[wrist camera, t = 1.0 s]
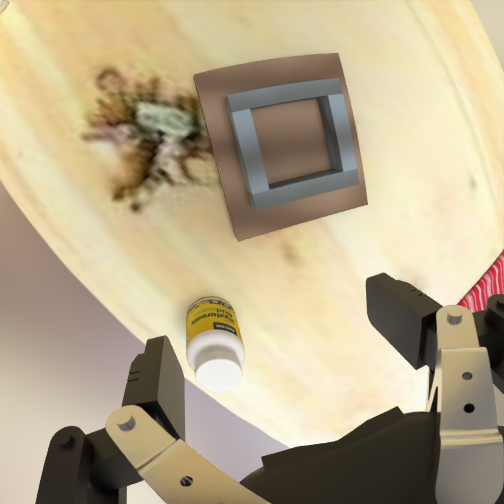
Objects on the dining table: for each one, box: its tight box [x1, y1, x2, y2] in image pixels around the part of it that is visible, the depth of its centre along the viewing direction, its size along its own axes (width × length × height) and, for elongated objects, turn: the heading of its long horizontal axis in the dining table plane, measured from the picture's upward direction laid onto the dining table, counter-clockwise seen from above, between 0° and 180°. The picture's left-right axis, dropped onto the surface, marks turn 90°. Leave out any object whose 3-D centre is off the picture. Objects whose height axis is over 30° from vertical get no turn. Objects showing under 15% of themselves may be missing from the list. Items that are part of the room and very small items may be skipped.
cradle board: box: [194, 53, 368, 241], centre depth 26 cm, size 16×14×4 cm
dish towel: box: [457, 251, 504, 313], centre depth 43 cm, size 17×24×3 cm
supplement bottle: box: [186, 297, 245, 392], centre depth 29 cm, size 5×5×10 cm
